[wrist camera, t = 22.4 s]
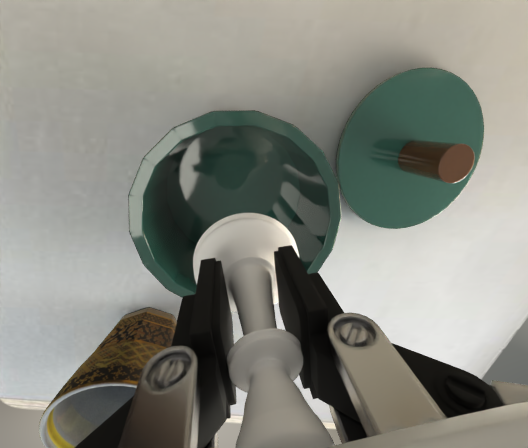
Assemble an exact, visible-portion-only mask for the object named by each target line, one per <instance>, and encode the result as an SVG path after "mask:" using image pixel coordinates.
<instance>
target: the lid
mask: <svg viewBox="0 0 528 448" xmlns="http://www.w3.org/2000/svg"><path fill="white" fill-rule="evenodd" d="M483 138H484V122H483V115H482V110H481V107H480V104H479V102H478V99H477V97H476V95H475V94H474V92H473V90H472V89H471V88H470V87H469V86H468V84H467V83H466V82H465V81H463V80H462V79H461V78H460V77H458V76H456V75H455V74H453V73H451V72H448V71H445V70H442V69H437V68H418V69H412V70H408V71H405V72H402V73H399V74H396V75H394V76H392V77H390V78H388V79H386V80H385V81H383V82H382V83H380V84H379V85H377V86H376V87H375V88H374V89H373V90H372V91H370V92H369V93H368V94H367V95H366V96H365V97H364V98H363V99H362V101H361V102H360V103H359V104H358V106H357V107H356V108H355V110H354V111H353V112H352V114H351V116H350V118H349V119H348V121H347V123H346V125H345V128H344V130H343V132H342V135H341V138H340V142H339V145H338V151H337V158H336V173H337V180H338V184H339V188H340V191H341V194H342V196H343V198H344V200H345V202H346V203H347V205H348V206H349V207H350V209H351V210H352V211H353V212H354V213H355V214H356V215H358V216H359V217H360V218H362V219H363V220H365V221H367V222H368V223H370V224H372V225H375V226H379V227H383V228H393V229H398V228H406V227H411V226H414V225H417V224H420V223H423V222H425V221H427V220H429V219H431V218H432V217H434V216H436V215H437V214H439V213H440V212H441V211H443V210H444V209H445V208H447V207H448V206H449V205H450V204H451V203H452V202H453V201H454V200H455V199H456V198H457V197H458V195H459V194H460V193H461V192H462V190H463V189H464V188H465V186H466V185H467V183H468V182H469V180H470V178H471V177H472V175H473V172H474V170H475V168H476V166H477V163H478V160H479V158H480V154H481V150H482V145H483Z"/></svg>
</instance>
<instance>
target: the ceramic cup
mask: <svg viewBox="0 0 528 448" xmlns="http://www.w3.org/2000/svg"><path fill="white" fill-rule="evenodd" d="M176 324H177V321H176V319H175V317H174V316H173V315H172V314H169V313H166V312H163V311H159V310H156V309H153V308H150V307H148V308H145V309H142V310H139V311H136V312H133V313H130V314H127V315H125V316H124V317H123V318H122V319H121V320H120V321H119V322H118V324H117V325H116V326H115V327H114V329H113V330H112V331H111V332H110V333H109V335H108V336H107V337H106V338H105V339H104V340H103V342H102V343H101V344H100V345H99V347H98V348H97V349H96V350H95V352H94V353H93V354H92V355H91V356H90V357H89V358H88V359H87V360H86V361H85V362H84V363H83V364H82V365H81V366H80V367H79V369H78V370H77V371H76V372H75V373H74V374H73V376H72V377H71V378H70V379H69V380H68V381H67V383H66V384H65V385H64V386H63V388H62V389H61V390H60V391H59V393H58V394H57V395H56V396H55V398H54V399H53V400H52V402H51V403H50V404H49V406H48V407H47V408H46V410H45V411H44V413H43V415H42V417H41V420H40V424H39V434H40V438H41V441H42V443H43V445H44V446H45V448H75V447H76V446H77V445H78V444H79V443H80V442H81V441H83V440H84V439H85V438H86V437H87V436H88V435H89V434H91V433H92V432H93V431H94V430H95V429H96V428H97V427H99V426H100V425H101V424H102V423H103V422H104V421H105V420H107V419H108V418H109V417H110V416H111V415H112V414H113V413H115V412H116V411H117V410H118V409H119V408H120V407H121V406H123V405H124V404H125V403H126V402H127V401H128V400H129V399H131V398H132V397H133V396H134V394H135V391H136V387H137V384H138V381H139V378H140V374H141V372H142V370H143V368H144V366H145V365H146V364H147V362H148V361H149V360H150V359H151V358H152V357H153V356H155V355H156V354H157V353H159V352H161V351H162V350H164V349H166V348H170V347H171V345H172V341H173V337H174V332H175V328H176Z"/></svg>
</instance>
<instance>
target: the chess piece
mask: <svg viewBox="0 0 528 448" xmlns="http://www.w3.org/2000/svg"><path fill="white" fill-rule="evenodd" d="M289 245H292V246H293V248H294V250H295V252H296V253H297V255H298V257H299V253H298V249H297V246H296V243H295V240H294V238H293V236H292V235H291V233H290V232H289V230H288V229H287V228H286V227H285V226H284V225H283V224H281V223H280V222H279V221H277V220H275V219H273V218H271V217H269V216H266V215H263V214H258V213H239V214H234V215H231V216H228V217H225V218H223V219H221V220H219V221H217V222H216V223H214V224H213V225H212V226H211V227H209V228H208V229H207V230H206V231H205V233H204V234H203V235H202V236H201V238H200V239H199V241H198V243H197V245H196V248H195V251H194V256H193V269H194V277H195V281H196V284H197V281H198V275H199V269H200V263H201V260H204V259H210V258H215V259H216V261H220V260H221V262H222V268H223V273H224V278H225V283H226V289H227V294H228V299H229V304H230V309H231V312H238V315H239V319H240V323H241V326H242V331H243V335H244V336H243V337H242V338H240V339H239V340H238V341H237V342H236V343H235V344H234V345H233V346H232V348H231V349H230V351H229V353H228V356H227V365H228V370H229V376H230V379H231V381H232V382H233V384H234V385H235V386H236V387H238V388H239V389H241V390H242V391H245V392H247V393H248V394H247V398H246V402H245V408H244V416H243V421H242V426H241V430H240V433H239V436H238V439H237V443H236V448H327V447H331V446H335V444H334V442H333V440H332V438H331V436H330V434H329V433H328V431H327V429H326V428H325V426H324V425H323V423H322V422H321V420H320V419H319V418H318V416H317V415H316V414H315V413H314V412H313V411H312V409H311V408H310V406H309V405H308V404H307V402H306V401H305V399H304V397H303V395H302V393H301V392H300V390H299V389H298V387H297V386H296V385H295V383H294V382H293V381H294V380H295V379H296V378H297V376H298V375H299V373H300V372H301V369H302V366H303V355H302V350H301V343H300V341H299V340H298V339H297V338H296V337H295V336H294V335H293V334H291V333H289V332H287V331H285V330H281V329H277V327H276V321H275V312H274V304H275V303H277V302H278V301H279V300H278V291H277V281H276V271H275V262H274V251H278V247H283V246H289Z"/></svg>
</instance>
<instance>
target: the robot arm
mask: <svg viewBox="0 0 528 448" xmlns="http://www.w3.org/2000/svg"><path fill="white" fill-rule="evenodd" d="M274 262H275V271H276V281H277V291H278V300H279V308H280V313H281V316H282V320H283V323H284V326H285V330H286V331H287V332H289V333H291V334H293V335H294V336H295V337H296V338H297V339H298V340H299V341H300V343H301V350H302V355H303V366H302V369H301V372H300V373H299V375H300V379H301V382H302V385H303V388H304V389H306V388H310V391H311V394H312V397H313V399H315V398H319V399H320V400H322V401H323V402H325V403H327V404H328V405H329V407H330V412H331V415H332V418H333V421H334V423H335V426H336V429H337V432H338V435H339V437H340V440H341V443H342V444H339V445H335V446H331V447H327V448H528V385H521V384H514V383H507V382H500V381H493V380H492V382H491V385H488V384H486V383H485V382H484V381H482V380H481V379H479V378H478V377H476V376H475V375H473V374H470V373H468V372H466V371H464V370H461V369H459V368H456V367H453V366H451V365H448V364H446V363H443V362H440V361H438V360H435V359H432V358H430V357H427V356H424V355H422V354H419V353H416V352H414V351H411V350H409V349H406V348H403V347H401V346H398V345H395V344H393V343H391V342H390V341H389V340H388V338H387V337H386V335H385V334H384V333H383V331H382V330H381V329H380V327H379V326H378V325H377V324H376V323H375V322H374V321H373V320H371V319H370V318H368V317H366V316H363V315H361V314H356V313H344V312H343V310H342V309H341V307H340V306H339V304H338V302H337V301H336V299H335V298H334V296H333V295H332V293H331V292H330V290H329V289H328V287H327V285H326V284H325V282H324V281H323V279H322V278H321V276H320V275H319V274H318V273H311V274H308V273H307V271H306V269H305V267H304V266H303V264H302V262H301V260H300V259H299V257H298V255H297V253H296V252H295V250H294V248H293V246H292V245H289V246H283V247H278V251H274ZM233 345H234V344H233V324H232V315H231V309H230V304H229V299H228V294H227V289H226V283H225V278H224V273H223V268H222V262H221V260H220V261H216V259H215V258H210V259H204V260H201V263H200V269H199V275H198V281H197V287H196V293H195V294H192V295H187V296H184V297H183V299H182V302H181V307H180V311H179V315H178V320H177V324H176V328H175V332H174V337H173V341H172V345H171V347H170V348H166V349H164V350H162V351H161V352H159V353H157V354H156V355H155V356H153V357H152V358H151V359H150V360H149V361H148V362H147V364H146V365H145V366H144V368H143V370H142V372H141V374H140V378H139V381H138V384H137V387H136V391H135V394H134V396H133V397H132V398H131V399H129V400H128V401H127V402H126V403H125V404H124V405H123V406H121V407H120V408H119V409H118V410H117V411H116V412H115V413H113V414H112V415H111V416H110V417H109V418H108V419H107V420H105V421H104V422H103V423H102V424H101V425H100V426H99V427H97V428H96V429H95V430H94V431H93V432H92V433H91V434H89V435H88V436H87V437H86V438H85V439H84V440H83V441H81V442H80V443H79V444H78V445H77V446H76V447H75V448H218V434H217V431H218V430H219V429H220V427H221V426H222V425H223V423H224V422H225V421H226V419H227V418H231V417H230V405H234V404H236V386H235V385H234V384H233V382H232V381H231V379H230V376H229V370H228V365H227V356H228V353H229V351H230V349H231V348H232V346H233Z"/></svg>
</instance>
